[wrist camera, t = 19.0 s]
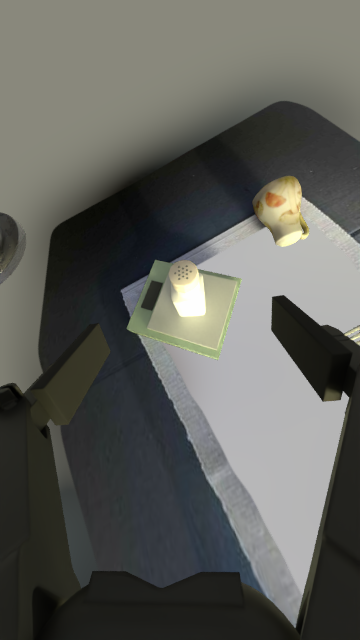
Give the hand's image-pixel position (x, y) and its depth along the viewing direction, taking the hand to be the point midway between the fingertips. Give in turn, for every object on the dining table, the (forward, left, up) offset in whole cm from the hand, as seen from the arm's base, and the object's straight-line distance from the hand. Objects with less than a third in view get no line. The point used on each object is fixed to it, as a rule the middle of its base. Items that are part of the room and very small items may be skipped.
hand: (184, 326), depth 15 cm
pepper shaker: (-3, +6, -14) cm, 16 cm away
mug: (+6, +26, -17) cm, 31 cm away
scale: (-5, +7, -17) cm, 18 cm away
